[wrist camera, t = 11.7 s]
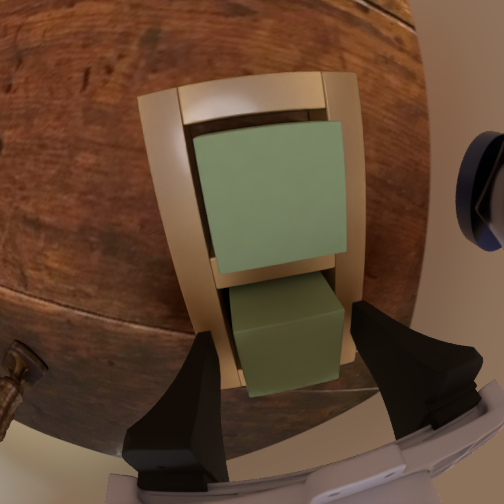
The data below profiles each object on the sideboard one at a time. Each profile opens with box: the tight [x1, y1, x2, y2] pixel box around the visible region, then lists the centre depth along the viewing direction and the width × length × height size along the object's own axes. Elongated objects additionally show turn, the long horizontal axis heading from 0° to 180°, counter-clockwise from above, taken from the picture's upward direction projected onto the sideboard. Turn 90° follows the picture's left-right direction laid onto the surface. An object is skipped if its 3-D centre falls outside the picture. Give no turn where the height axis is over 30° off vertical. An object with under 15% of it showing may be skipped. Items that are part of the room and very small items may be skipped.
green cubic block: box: [193, 121, 347, 274], centre depth 11 cm, size 5×5×5 cm
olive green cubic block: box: [229, 271, 345, 397], centre depth 14 cm, size 5×5×5 cm
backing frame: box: [137, 71, 366, 389], centre depth 14 cm, size 9×16×2 cm, turn 8°
